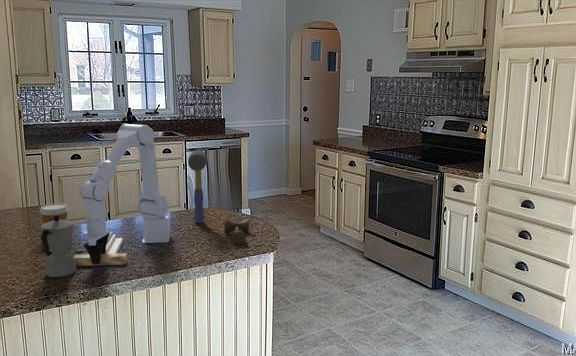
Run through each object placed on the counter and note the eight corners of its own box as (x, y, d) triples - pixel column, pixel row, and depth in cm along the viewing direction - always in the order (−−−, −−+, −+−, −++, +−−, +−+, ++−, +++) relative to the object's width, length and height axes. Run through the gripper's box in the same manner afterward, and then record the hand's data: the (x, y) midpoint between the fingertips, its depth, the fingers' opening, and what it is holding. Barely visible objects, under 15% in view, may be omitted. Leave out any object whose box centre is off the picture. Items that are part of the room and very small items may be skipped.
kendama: (225, 246, 175) (223, 228, 194) (251, 246, 176) (247, 228, 195) (225, 231, 173) (223, 214, 192) (252, 230, 175) (248, 214, 194)
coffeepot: (56, 263, 156) (51, 209, 152) (85, 263, 155) (81, 209, 152) (30, 283, 140) (24, 223, 137) (62, 283, 140) (57, 223, 137)
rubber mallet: (207, 226, 195) (206, 153, 190) (189, 227, 195) (186, 153, 189) (208, 218, 208) (207, 148, 202) (191, 218, 207) (189, 148, 201)
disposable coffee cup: (55, 232, 186) (52, 202, 184) (76, 235, 183) (73, 204, 181) (36, 240, 177) (33, 208, 175) (58, 243, 174) (55, 210, 172)
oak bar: (127, 261, 159) (126, 252, 158) (125, 265, 156) (125, 256, 155) (76, 263, 156) (75, 254, 156) (73, 267, 153) (72, 258, 153)
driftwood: (86, 254, 165) (86, 248, 165) (66, 254, 165) (66, 248, 165) (109, 236, 186) (109, 230, 185) (92, 235, 186) (91, 230, 185)
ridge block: (123, 241, 176) (122, 231, 176) (115, 257, 161) (114, 246, 160) (100, 242, 175) (99, 232, 174) (89, 258, 160) (88, 247, 159)
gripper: (88, 212, 159) (90, 252, 162) (76, 226, 145) (79, 268, 148) (110, 212, 160) (113, 251, 163) (101, 225, 146) (104, 267, 149)
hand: (98, 259), depth 155 cm, fingers open, 7 cm apart
